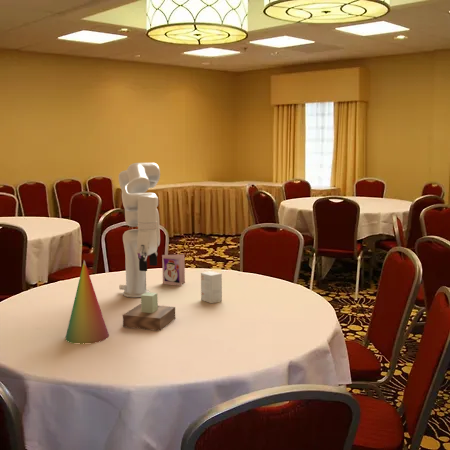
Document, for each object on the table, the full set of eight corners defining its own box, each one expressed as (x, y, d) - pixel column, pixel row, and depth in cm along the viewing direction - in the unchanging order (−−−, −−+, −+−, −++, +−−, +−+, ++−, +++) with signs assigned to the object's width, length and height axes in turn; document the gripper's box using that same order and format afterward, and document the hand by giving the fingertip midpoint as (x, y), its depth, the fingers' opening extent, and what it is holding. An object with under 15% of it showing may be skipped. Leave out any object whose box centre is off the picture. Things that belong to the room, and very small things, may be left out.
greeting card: (161, 283, 300) (161, 255, 298) (169, 280, 307) (169, 252, 305) (180, 286, 295) (180, 257, 293) (188, 283, 302) (187, 254, 299)
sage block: (141, 312, 235) (140, 295, 234) (146, 308, 240) (146, 292, 239) (152, 313, 234) (152, 296, 233) (157, 309, 238) (157, 293, 237)
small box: (222, 301, 268) (222, 273, 266) (211, 303, 264) (211, 275, 262) (211, 297, 275) (211, 270, 273) (200, 299, 271) (200, 272, 269)
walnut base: (123, 327, 232) (122, 314, 231) (140, 315, 247) (140, 303, 247) (160, 330, 228) (160, 318, 227) (175, 318, 243) (175, 307, 242)
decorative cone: (65, 346, 211) (61, 265, 207) (65, 332, 227) (61, 256, 222) (110, 341, 216) (107, 262, 211) (107, 328, 231) (104, 254, 227)
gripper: (147, 222, 241) (148, 262, 244) (129, 229, 224) (130, 272, 227) (164, 223, 239) (165, 264, 241) (147, 230, 222) (148, 273, 225)
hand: (148, 268), depth 234 cm, fingers open, 9 cm apart
